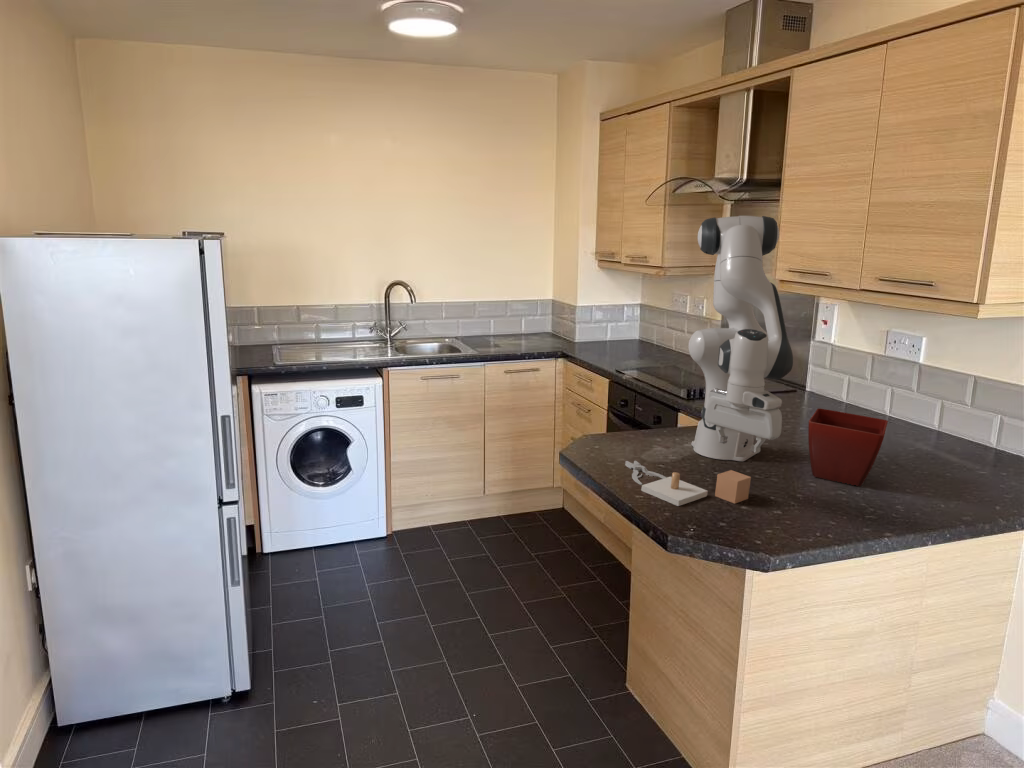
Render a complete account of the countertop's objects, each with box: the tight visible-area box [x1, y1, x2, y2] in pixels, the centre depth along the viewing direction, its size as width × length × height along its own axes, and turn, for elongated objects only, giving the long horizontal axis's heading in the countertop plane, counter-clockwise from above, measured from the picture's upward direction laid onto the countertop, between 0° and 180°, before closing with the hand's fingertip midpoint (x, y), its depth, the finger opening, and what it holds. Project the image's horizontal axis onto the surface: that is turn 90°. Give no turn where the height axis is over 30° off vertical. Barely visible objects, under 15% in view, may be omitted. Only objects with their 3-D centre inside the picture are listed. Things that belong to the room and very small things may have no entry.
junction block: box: [640, 471, 708, 507], centre depth 184 cm, size 12×12×6 cm
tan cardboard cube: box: [714, 469, 752, 504], centre depth 184 cm, size 6×6×6 cm
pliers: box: [624, 460, 667, 486], centre depth 198 cm, size 10×2×15 cm
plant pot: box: [807, 408, 889, 487], centre depth 202 cm, size 19×19×17 cm
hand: (738, 447), depth 181 cm, fingers open, 8 cm apart
